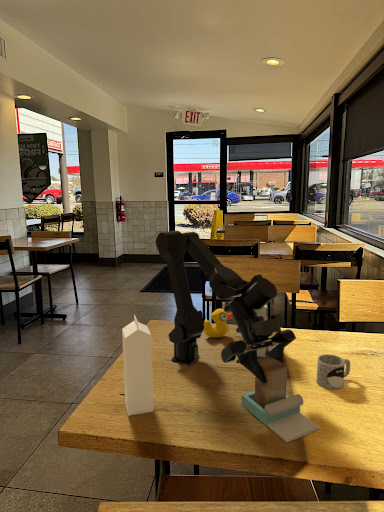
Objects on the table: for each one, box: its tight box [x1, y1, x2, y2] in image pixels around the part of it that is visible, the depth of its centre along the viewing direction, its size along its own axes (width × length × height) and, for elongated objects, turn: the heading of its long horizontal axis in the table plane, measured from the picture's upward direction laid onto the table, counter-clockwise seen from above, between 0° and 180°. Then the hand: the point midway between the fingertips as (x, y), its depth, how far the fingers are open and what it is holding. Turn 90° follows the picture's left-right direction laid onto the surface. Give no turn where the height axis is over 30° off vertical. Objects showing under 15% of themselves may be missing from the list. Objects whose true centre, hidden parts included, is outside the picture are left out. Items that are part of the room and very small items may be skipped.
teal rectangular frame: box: [240, 390, 320, 443], centre depth 83 cm, size 16×10×5 cm, turn 28°
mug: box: [316, 353, 351, 391], centre depth 98 cm, size 10×7×7 cm, turn 114°
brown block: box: [254, 357, 288, 410], centre depth 85 cm, size 5×5×10 cm
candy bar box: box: [253, 303, 269, 359], centre depth 116 cm, size 11×5×16 cm, turn 168°
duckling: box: [202, 308, 234, 339], centre depth 128 cm, size 11×5×10 cm, turn 107°
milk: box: [121, 314, 155, 417], centre depth 86 cm, size 6×6×22 cm
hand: (274, 380), depth 84 cm, fingers closed on brown block, 5 cm apart
